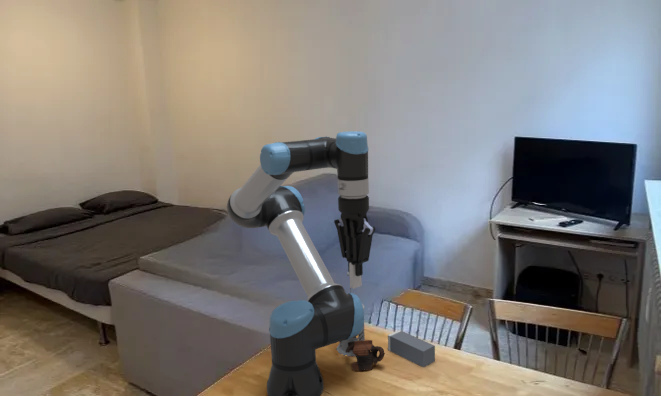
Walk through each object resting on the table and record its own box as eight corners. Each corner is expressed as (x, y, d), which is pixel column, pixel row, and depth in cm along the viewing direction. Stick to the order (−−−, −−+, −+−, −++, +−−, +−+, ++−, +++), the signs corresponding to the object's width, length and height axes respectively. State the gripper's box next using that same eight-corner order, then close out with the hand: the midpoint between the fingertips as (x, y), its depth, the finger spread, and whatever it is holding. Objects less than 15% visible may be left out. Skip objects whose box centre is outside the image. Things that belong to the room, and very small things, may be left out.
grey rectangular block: (423, 367, 152) (388, 350, 162) (434, 361, 155) (399, 344, 165) (423, 351, 151) (387, 335, 161) (434, 345, 154) (399, 329, 164)
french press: (330, 352, 162) (327, 274, 157) (347, 336, 172) (345, 262, 167) (360, 359, 158) (358, 279, 152) (375, 342, 168) (374, 266, 162)
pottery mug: (342, 372, 152) (339, 342, 154) (355, 371, 160) (352, 342, 162) (381, 368, 147) (378, 337, 150) (393, 367, 155) (389, 338, 158)
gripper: (324, 194, 133) (328, 283, 138) (359, 201, 123) (362, 297, 128) (347, 189, 137) (350, 276, 142) (383, 196, 127) (384, 289, 132)
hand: (355, 286), depth 135 cm, fingers closed
